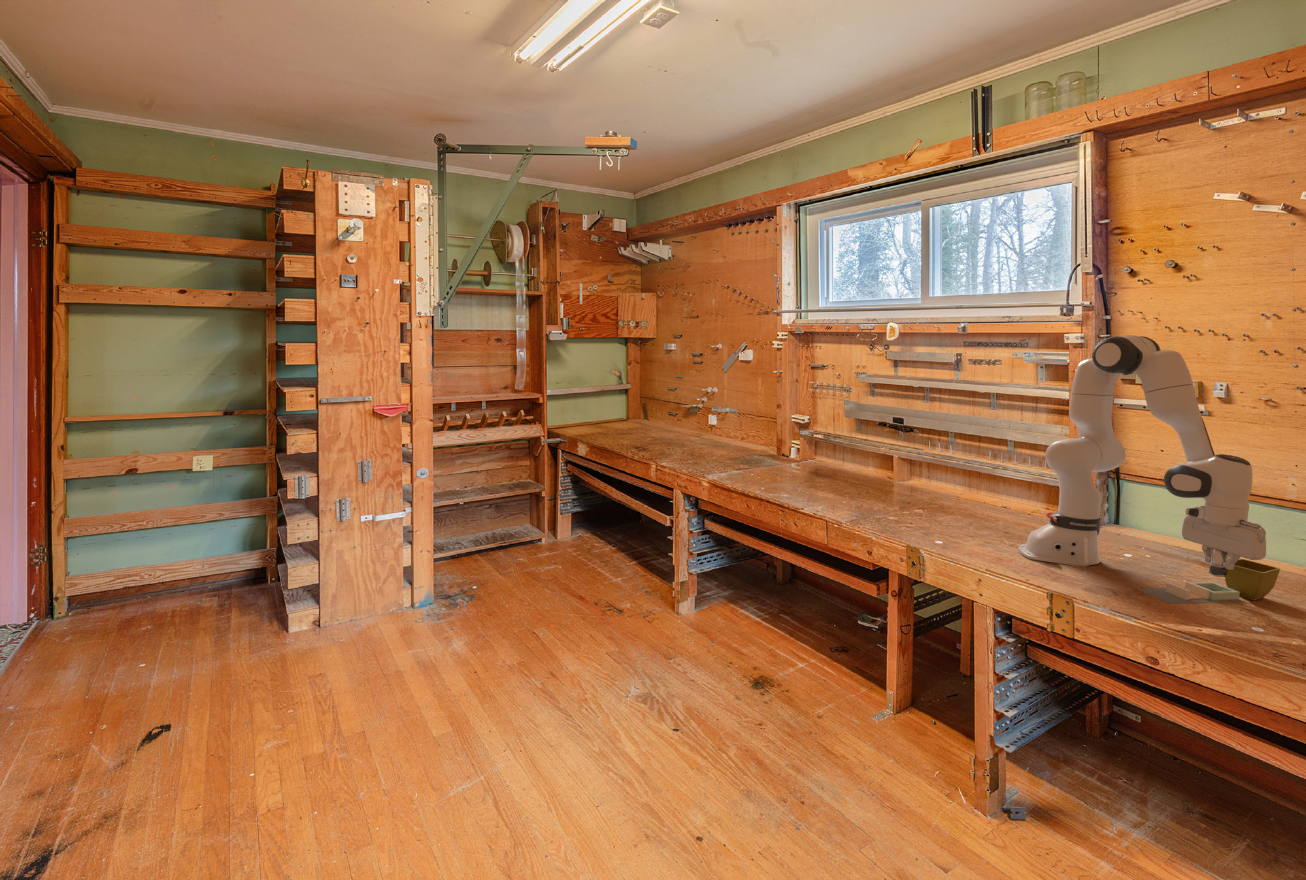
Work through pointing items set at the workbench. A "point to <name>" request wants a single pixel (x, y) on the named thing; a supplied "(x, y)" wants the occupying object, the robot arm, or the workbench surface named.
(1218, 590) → the pale green flat frame
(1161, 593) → the board
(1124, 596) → the workbench surface
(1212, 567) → the cell
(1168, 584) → the cradle
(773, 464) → the workbench surface
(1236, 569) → the flower pot
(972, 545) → the workbench surface
